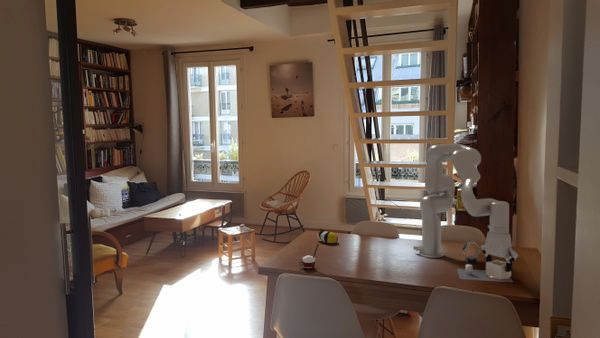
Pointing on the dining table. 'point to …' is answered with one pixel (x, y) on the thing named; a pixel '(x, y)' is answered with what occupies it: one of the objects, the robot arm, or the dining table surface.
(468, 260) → the watch
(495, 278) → the hub
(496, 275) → the square hollow frame
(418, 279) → the dining table surface
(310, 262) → the cocoa
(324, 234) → the figurine
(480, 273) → the board
